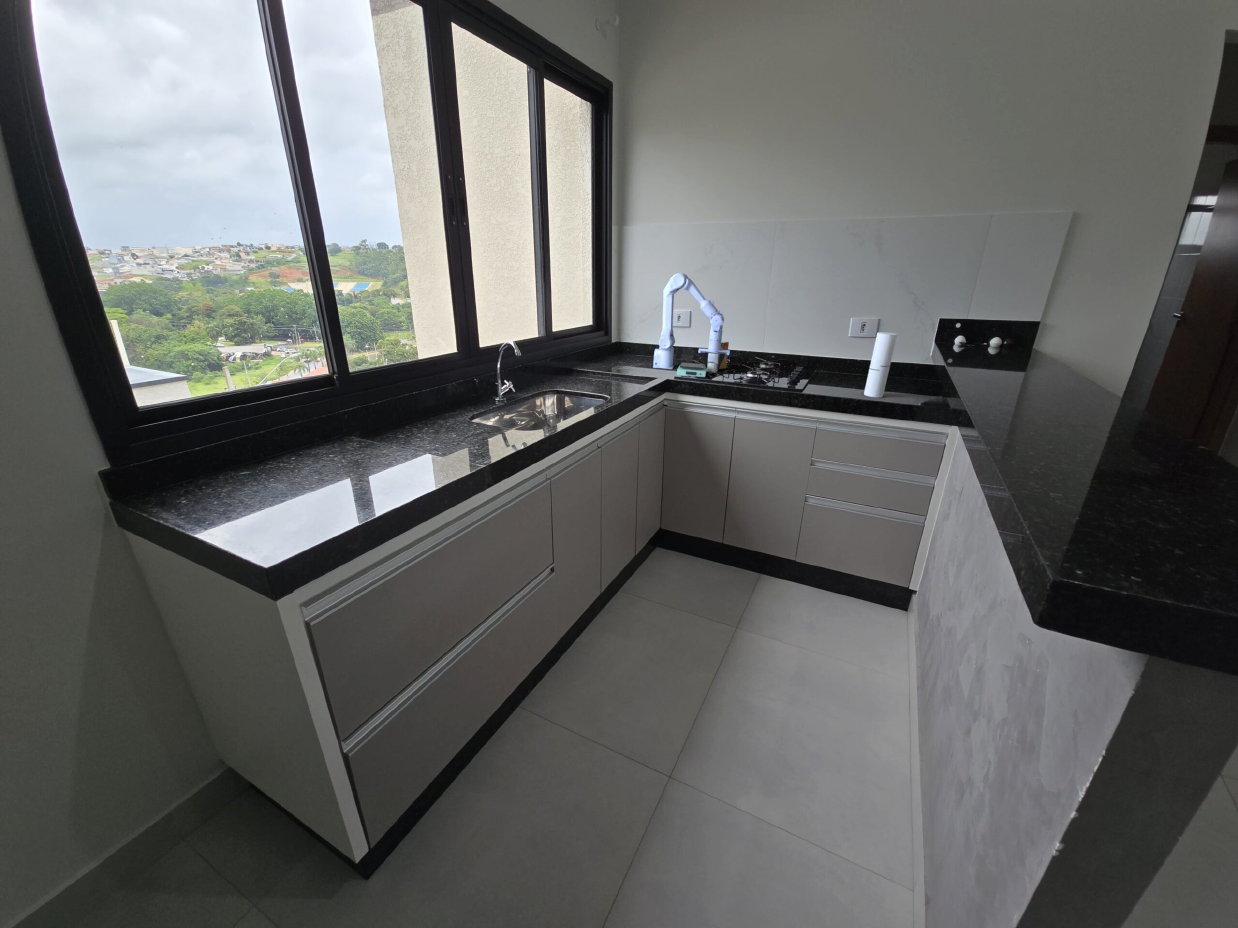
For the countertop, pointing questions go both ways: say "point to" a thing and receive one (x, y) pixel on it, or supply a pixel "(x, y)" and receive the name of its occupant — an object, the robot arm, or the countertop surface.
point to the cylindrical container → (880, 364)
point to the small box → (716, 356)
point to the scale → (692, 372)
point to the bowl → (712, 367)
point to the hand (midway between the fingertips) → (712, 369)
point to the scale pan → (692, 365)
